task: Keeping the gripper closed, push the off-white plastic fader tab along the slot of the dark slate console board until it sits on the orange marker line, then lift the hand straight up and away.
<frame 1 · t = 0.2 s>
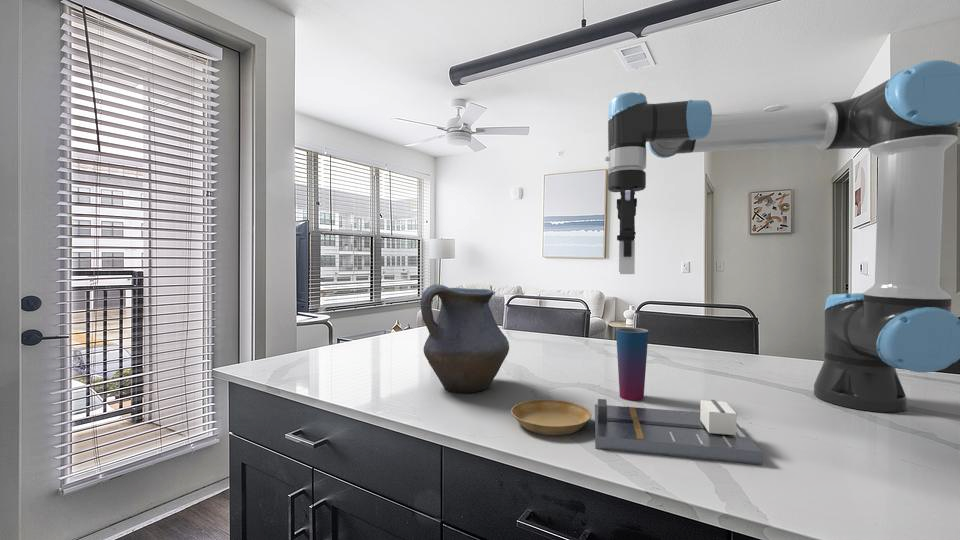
hand: (626, 273, 93), 28 cm above the kitchen island, fingers open, 13 cm apart
plant saucer: (550, 426, 83), on the kitchen island
fader: (717, 416, 75), point 4 cm above the kitchen island, slide at 0.0 cm
pitcher: (464, 388, 105), on the kitchen island
cup: (631, 398, 98), on the kitchen island
console: (666, 436, 77), on the kitchen island
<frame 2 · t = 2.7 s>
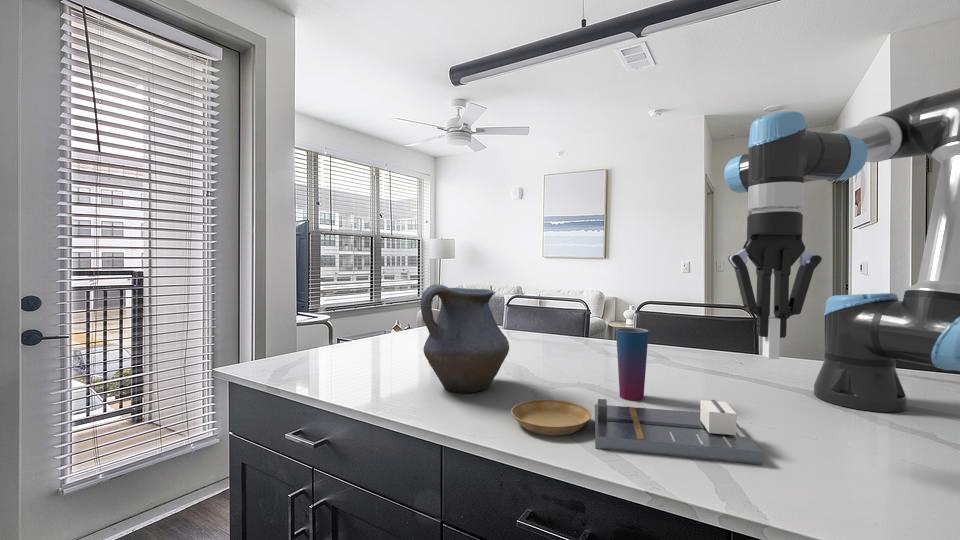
hand: (770, 356, 72), 15 cm above the kitchen island, fingers closed
nothing on the kitchen island moved.
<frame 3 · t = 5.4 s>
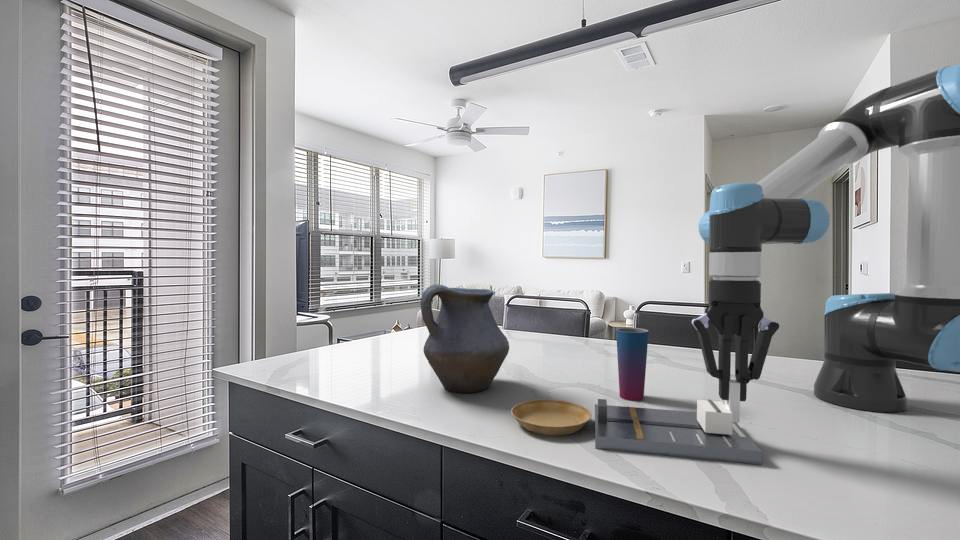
hand: (731, 419, 74), 4 cm above the kitchen island, fingers closed
fader: (713, 416, 75), point 4 cm above the kitchen island, slide at 0.6 cm, touching gripper
everything else where it was.
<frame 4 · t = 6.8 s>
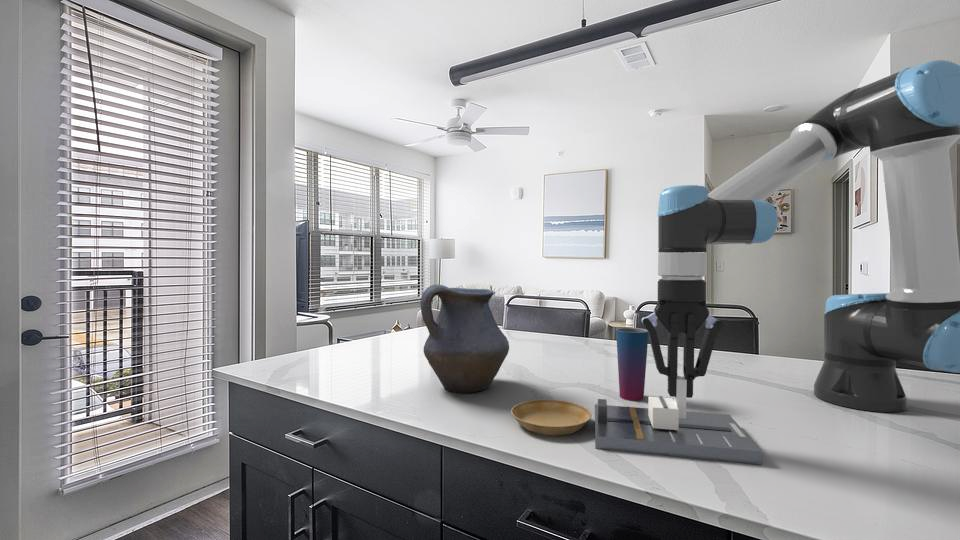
hand: (679, 415, 76), 4 cm above the kitchen island, fingers closed
fader: (662, 412, 77), point 4 cm above the kitchen island, slide at 8.6 cm, touching gripper
everything else where it was.
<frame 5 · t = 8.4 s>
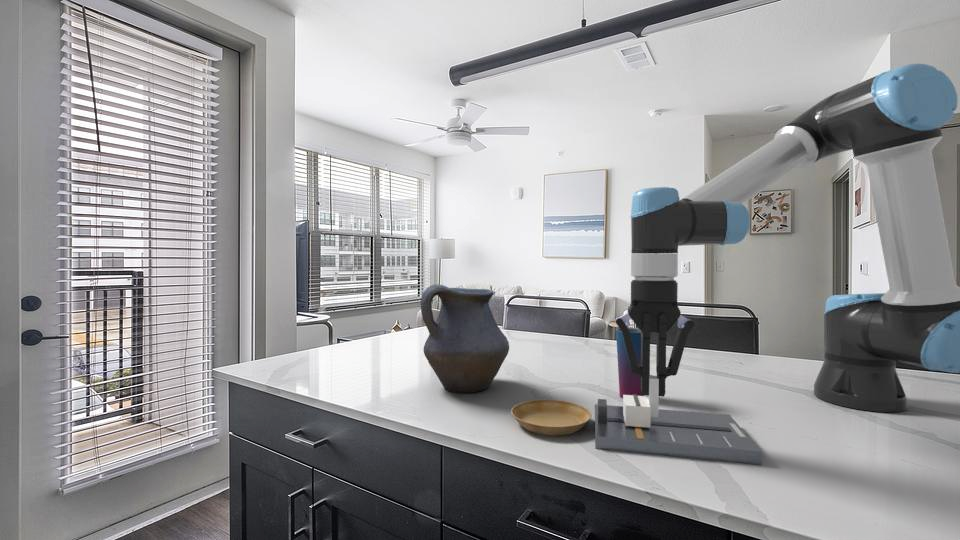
hand: (652, 413, 77), 4 cm above the kitchen island, fingers closed
fader: (636, 410, 78), point 4 cm above the kitchen island, slide at 13.0 cm, touching gripper
everything else where it was.
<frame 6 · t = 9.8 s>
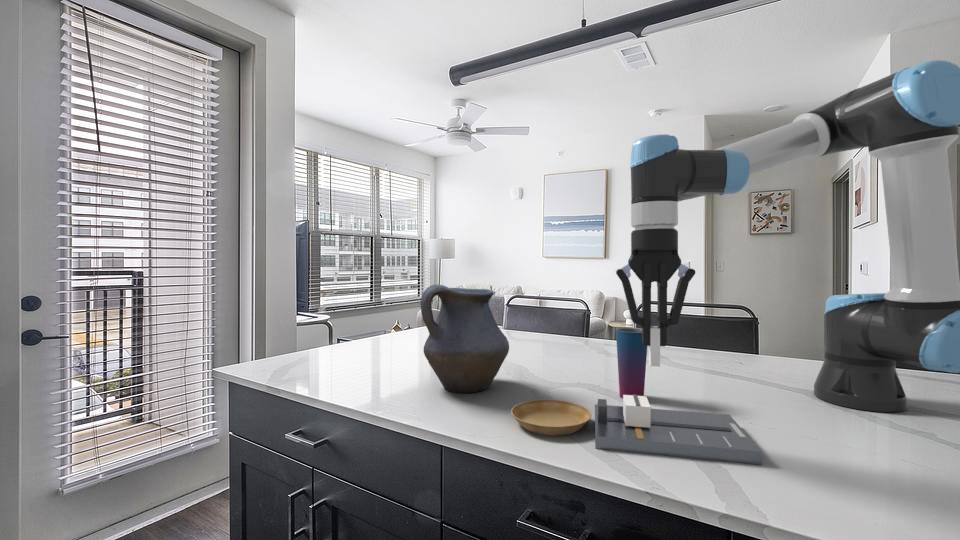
hand: (654, 364, 77), 12 cm above the kitchen island, fingers closed
fader: (636, 410, 78), point 4 cm above the kitchen island, slide at 13.0 cm
everything else where it was.
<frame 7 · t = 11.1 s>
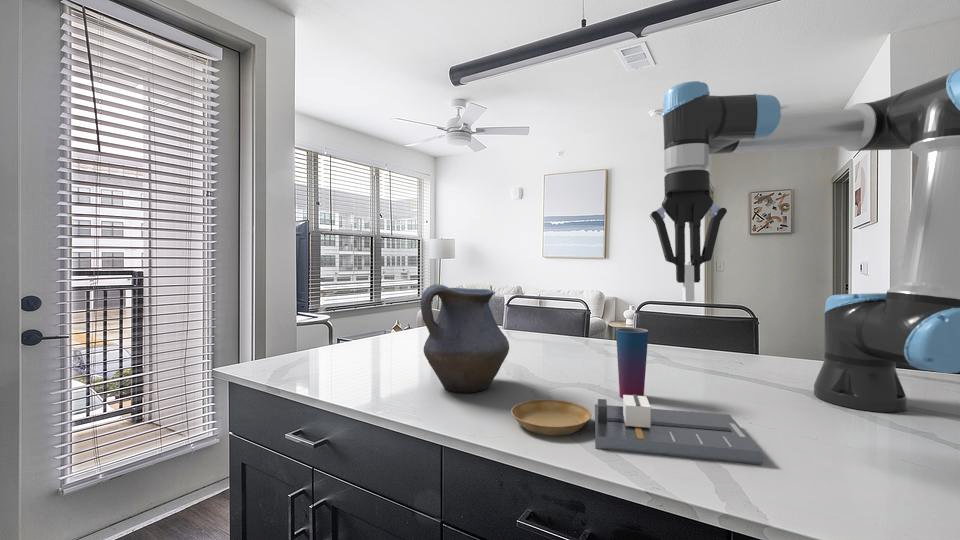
hand: (688, 300, 82), 23 cm above the kitchen island, fingers closed
nothing on the kitchen island moved.
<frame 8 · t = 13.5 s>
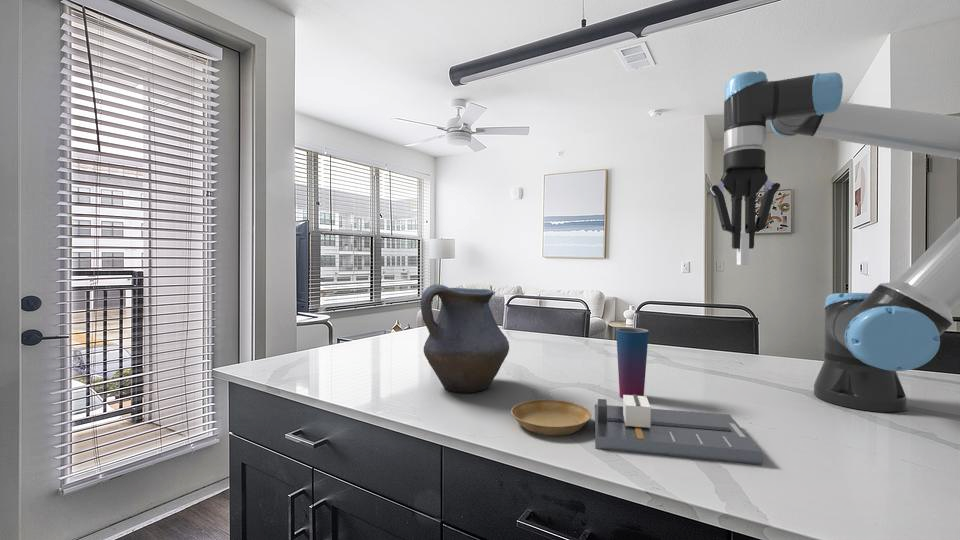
hand: (742, 264, 93), 29 cm above the kitchen island, fingers closed
nothing on the kitchen island moved.
at the end: fader slide at 13.0 cm; fader 0.0 cm from the target spot, resting on console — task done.
